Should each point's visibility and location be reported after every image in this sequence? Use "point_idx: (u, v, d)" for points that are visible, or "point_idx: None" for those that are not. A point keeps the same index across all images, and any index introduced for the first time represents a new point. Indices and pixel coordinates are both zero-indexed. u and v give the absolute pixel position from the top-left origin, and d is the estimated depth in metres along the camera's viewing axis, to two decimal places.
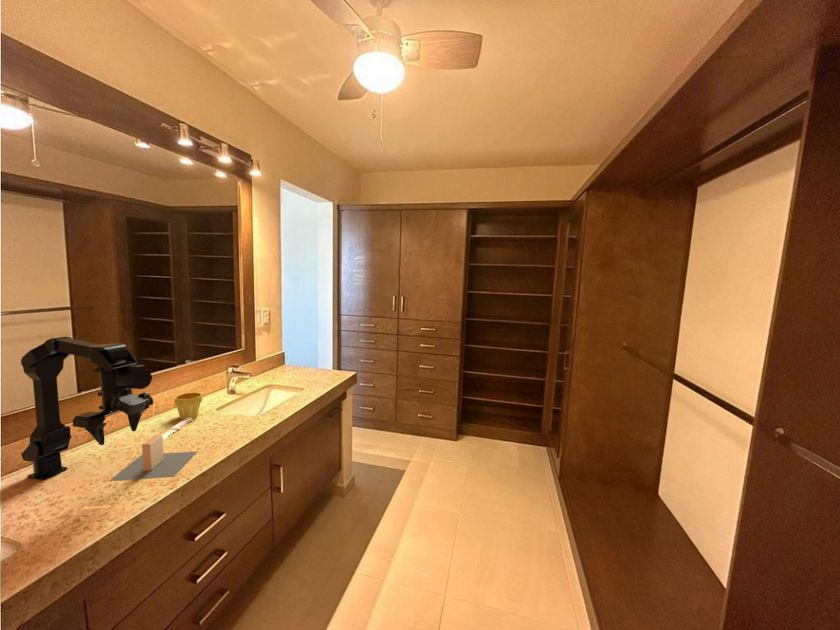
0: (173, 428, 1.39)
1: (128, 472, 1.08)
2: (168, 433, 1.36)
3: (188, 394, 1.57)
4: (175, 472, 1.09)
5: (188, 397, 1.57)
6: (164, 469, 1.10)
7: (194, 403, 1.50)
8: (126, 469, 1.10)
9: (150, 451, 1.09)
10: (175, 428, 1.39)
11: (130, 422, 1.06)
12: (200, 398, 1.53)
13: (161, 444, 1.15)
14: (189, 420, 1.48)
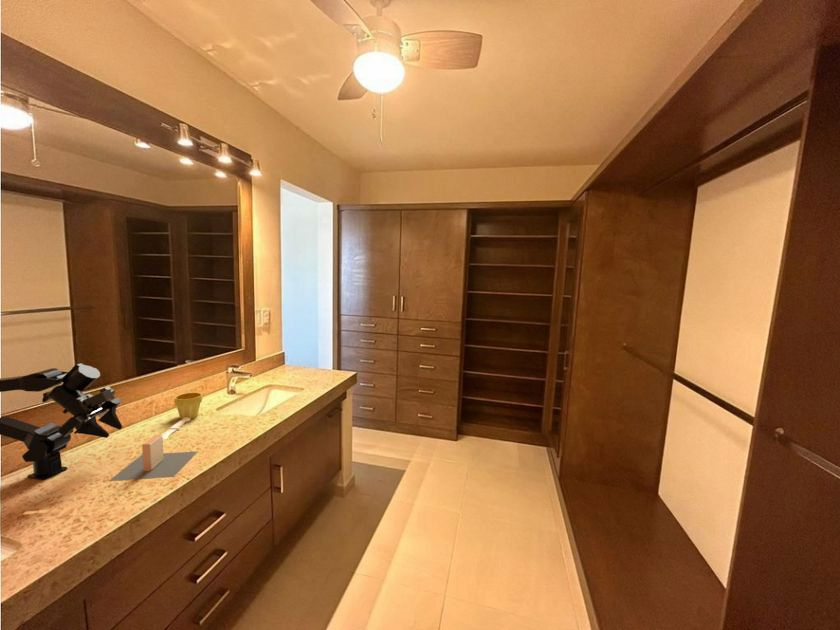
0: (172, 428, 1.40)
1: (128, 472, 1.08)
2: (168, 433, 1.36)
3: (188, 394, 1.57)
4: (175, 472, 1.09)
5: (188, 397, 1.57)
6: (164, 469, 1.10)
7: (194, 403, 1.50)
8: (126, 469, 1.10)
9: (150, 451, 1.09)
10: (174, 428, 1.40)
11: (112, 425, 1.12)
12: (200, 398, 1.53)
13: (161, 444, 1.15)
14: (187, 420, 1.48)
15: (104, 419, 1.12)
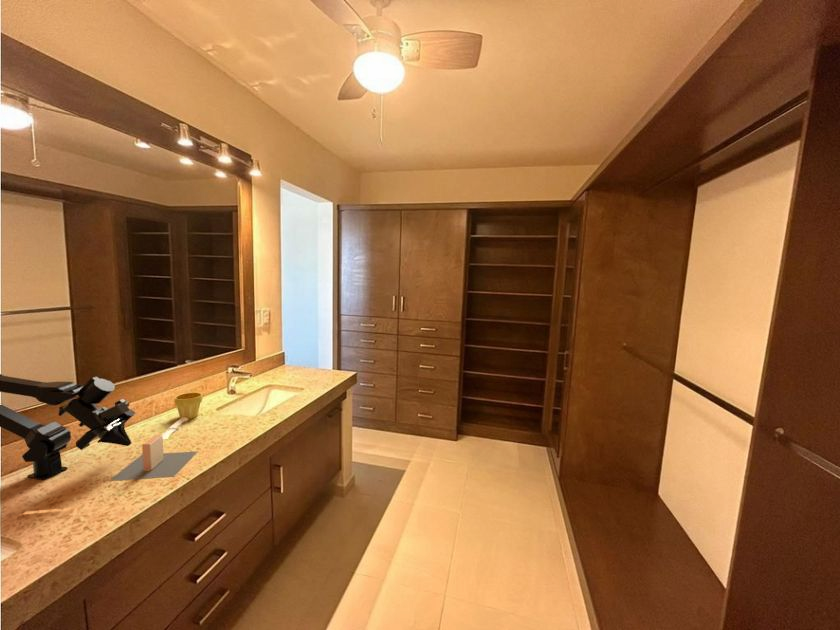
0: (171, 428, 1.40)
1: (128, 472, 1.08)
2: (168, 433, 1.36)
3: (188, 394, 1.57)
4: (175, 472, 1.09)
5: (188, 397, 1.57)
6: (164, 469, 1.10)
7: (194, 403, 1.50)
8: (126, 469, 1.10)
9: (150, 451, 1.09)
10: (174, 428, 1.40)
11: None
12: (200, 398, 1.53)
13: (161, 444, 1.15)
14: (184, 420, 1.48)
15: None
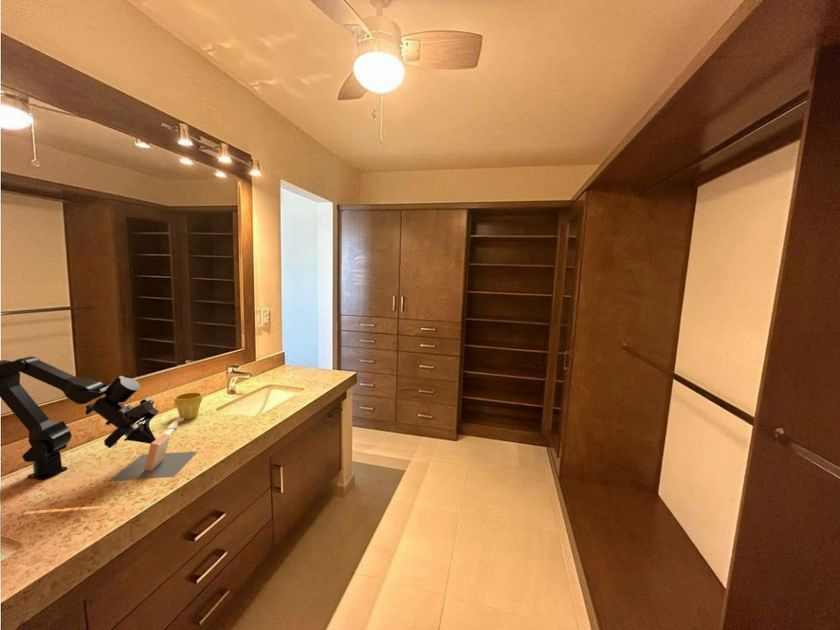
0: (170, 428, 1.40)
1: (128, 472, 1.08)
2: (168, 432, 1.37)
3: (188, 394, 1.57)
4: (175, 472, 1.09)
5: (188, 397, 1.57)
6: (164, 469, 1.10)
7: (194, 403, 1.50)
8: (126, 469, 1.10)
9: (156, 452, 1.09)
10: (172, 427, 1.40)
11: None
12: (200, 398, 1.53)
13: (166, 445, 1.15)
14: (180, 420, 1.48)
15: None
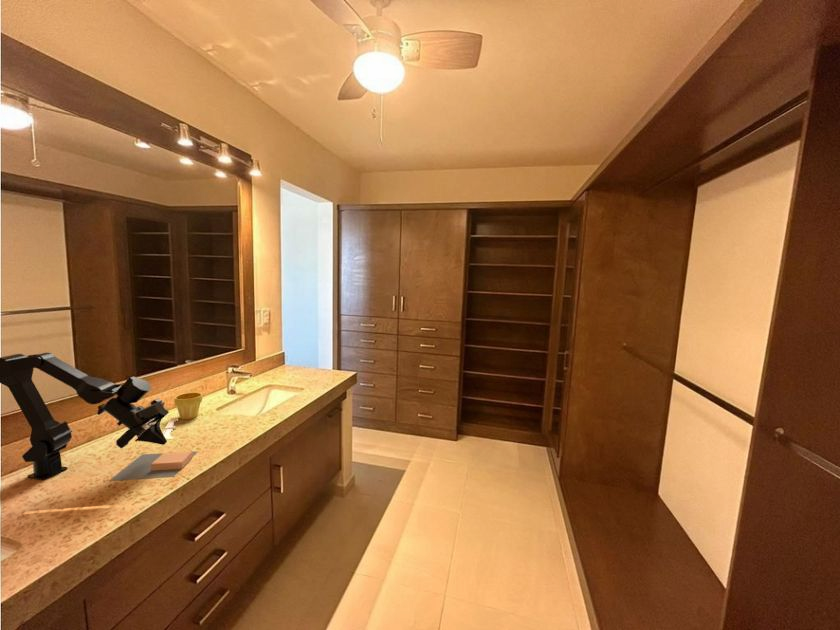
0: (168, 428, 1.40)
1: (128, 472, 1.08)
2: (167, 432, 1.37)
3: (188, 394, 1.57)
4: (175, 472, 1.09)
5: (188, 397, 1.57)
6: None
7: (194, 403, 1.50)
8: (126, 469, 1.10)
9: (173, 468, 1.11)
10: (170, 427, 1.40)
11: None
12: (200, 398, 1.53)
13: None
14: (175, 420, 1.47)
15: None
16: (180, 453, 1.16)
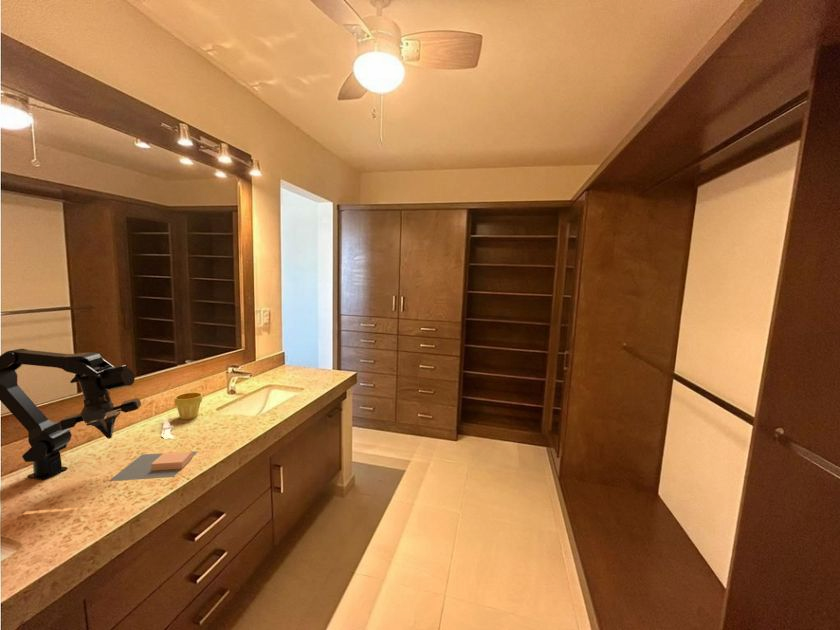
0: (166, 428, 1.39)
1: (128, 472, 1.08)
2: (167, 432, 1.37)
3: (188, 394, 1.57)
4: (175, 472, 1.09)
5: (188, 397, 1.57)
6: None
7: (194, 403, 1.50)
8: (126, 469, 1.10)
9: (173, 468, 1.11)
10: (168, 427, 1.40)
11: None
12: (200, 398, 1.53)
13: None
14: (169, 420, 1.47)
15: None
16: (180, 453, 1.16)
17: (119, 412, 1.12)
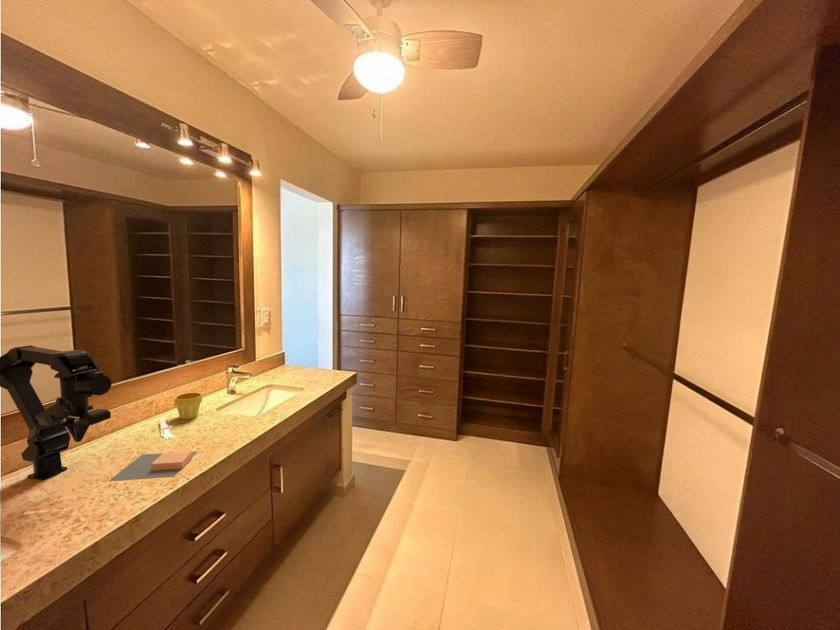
0: (164, 428, 1.39)
1: (128, 472, 1.08)
2: (166, 432, 1.37)
3: (188, 394, 1.57)
4: (175, 472, 1.09)
5: (188, 397, 1.57)
6: None
7: (194, 403, 1.50)
8: (126, 469, 1.10)
9: (173, 468, 1.11)
10: (166, 427, 1.40)
11: None
12: (200, 398, 1.53)
13: None
14: (165, 421, 1.46)
15: None
16: (180, 453, 1.16)
17: None
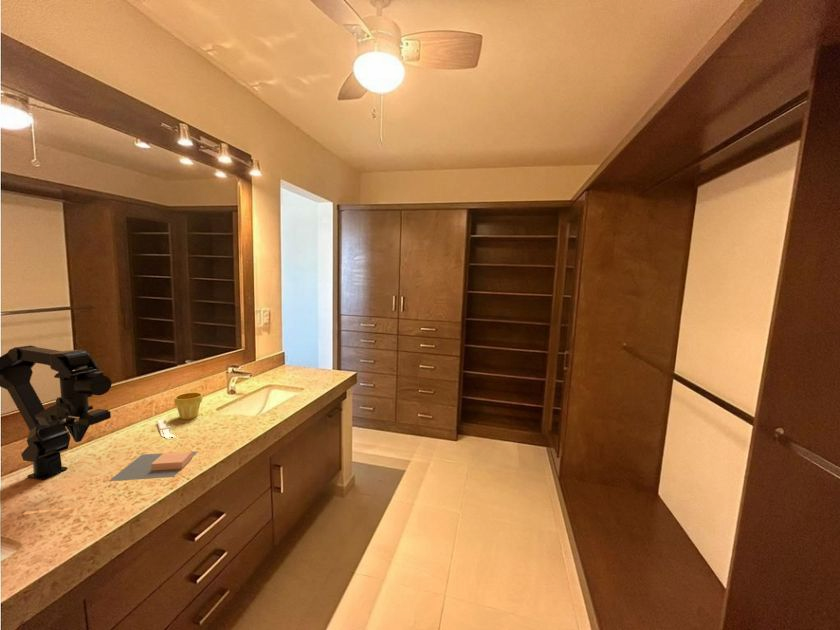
0: (163, 428, 1.39)
1: (128, 472, 1.08)
2: (166, 432, 1.37)
3: (188, 394, 1.57)
4: (175, 472, 1.09)
5: (188, 397, 1.57)
6: None
7: (194, 403, 1.50)
8: (126, 469, 1.10)
9: (173, 468, 1.11)
10: (166, 428, 1.40)
11: None
12: (200, 398, 1.53)
13: None
14: (163, 421, 1.46)
15: None
16: (180, 453, 1.16)
17: None
